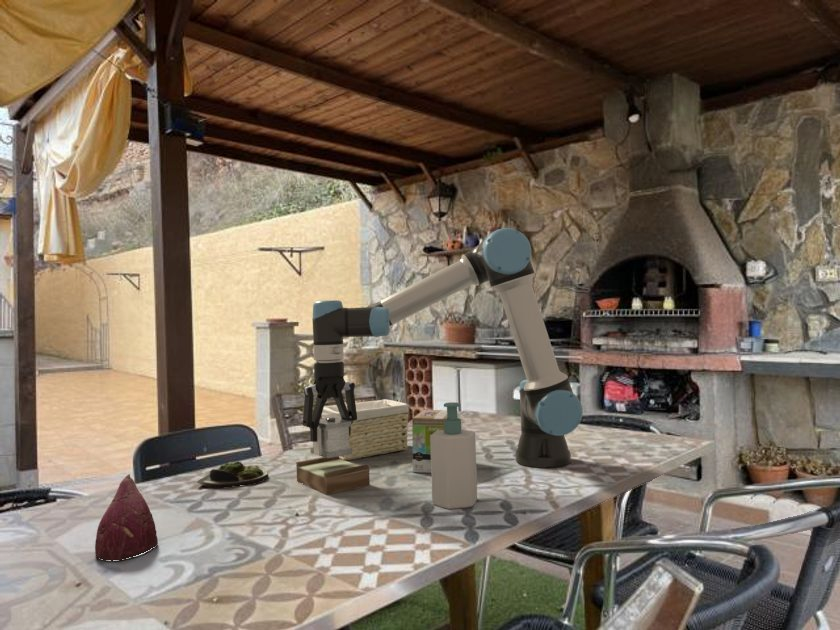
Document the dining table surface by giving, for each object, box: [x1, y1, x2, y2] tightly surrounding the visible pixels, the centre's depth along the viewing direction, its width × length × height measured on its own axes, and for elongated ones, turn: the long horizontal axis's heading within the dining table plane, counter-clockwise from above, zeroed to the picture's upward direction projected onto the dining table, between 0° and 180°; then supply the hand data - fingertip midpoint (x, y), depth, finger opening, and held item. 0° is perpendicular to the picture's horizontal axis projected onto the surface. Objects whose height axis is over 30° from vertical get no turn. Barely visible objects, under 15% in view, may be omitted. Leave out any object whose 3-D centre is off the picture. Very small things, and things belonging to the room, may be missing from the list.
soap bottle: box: [430, 402, 478, 510], centre depth 133 cm, size 10×9×22 cm
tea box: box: [411, 409, 447, 474], centre depth 166 cm, size 15×10×15 cm
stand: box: [295, 456, 371, 496], centre depth 152 cm, size 16×12×5 cm
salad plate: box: [196, 460, 269, 489], centre depth 161 cm, size 19×18×5 cm
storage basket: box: [321, 398, 410, 461], centre depth 187 cm, size 24×16×15 cm
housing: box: [310, 417, 352, 458], centre depth 152 cm, size 7×9×9 cm
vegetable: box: [94, 474, 159, 561], centre depth 112 cm, size 10×10×15 cm
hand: (331, 451), depth 152 cm, fingers closed on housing, 7 cm apart
